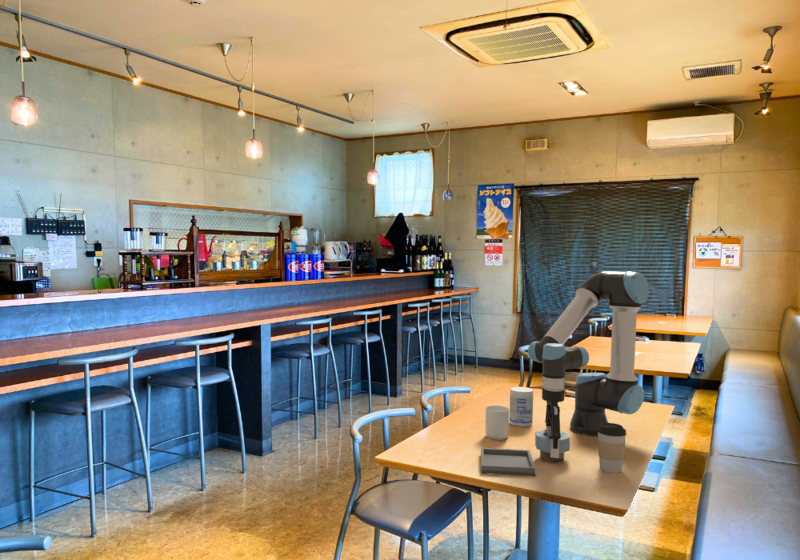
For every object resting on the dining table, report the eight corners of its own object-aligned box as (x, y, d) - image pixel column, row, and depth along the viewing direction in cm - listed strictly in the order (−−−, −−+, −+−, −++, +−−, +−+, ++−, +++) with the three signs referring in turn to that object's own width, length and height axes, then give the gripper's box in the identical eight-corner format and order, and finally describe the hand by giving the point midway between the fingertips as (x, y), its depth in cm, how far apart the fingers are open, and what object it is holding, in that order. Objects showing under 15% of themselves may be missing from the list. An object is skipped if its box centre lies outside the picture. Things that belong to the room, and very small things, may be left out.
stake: (561, 455, 198) (562, 424, 197) (565, 463, 190) (566, 431, 189) (538, 454, 199) (539, 423, 198) (541, 462, 191) (542, 430, 190)
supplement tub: (517, 428, 229) (518, 392, 228) (504, 422, 237) (505, 387, 237) (537, 425, 232) (538, 390, 232) (523, 419, 241) (524, 385, 241)
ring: (565, 443, 199) (566, 430, 199) (571, 453, 188) (571, 440, 188) (534, 441, 200) (534, 429, 200) (537, 452, 189) (538, 439, 189)
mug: (501, 442, 212) (501, 413, 211) (481, 437, 217) (481, 408, 217) (516, 434, 221) (516, 406, 221) (496, 429, 227) (496, 402, 226)
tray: (529, 457, 196) (529, 450, 196) (535, 476, 179) (535, 468, 179) (480, 454, 198) (480, 447, 198) (481, 473, 181) (481, 465, 181)
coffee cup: (591, 464, 189) (592, 420, 189) (617, 463, 190) (618, 420, 189) (603, 475, 180) (604, 429, 180) (630, 474, 181) (631, 428, 180)
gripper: (538, 380, 205) (537, 439, 206) (546, 396, 182) (545, 463, 183) (559, 381, 205) (557, 440, 205) (570, 397, 181) (569, 464, 182)
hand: (552, 451), depth 194 cm, fingers closed on ring, 11 cm apart
